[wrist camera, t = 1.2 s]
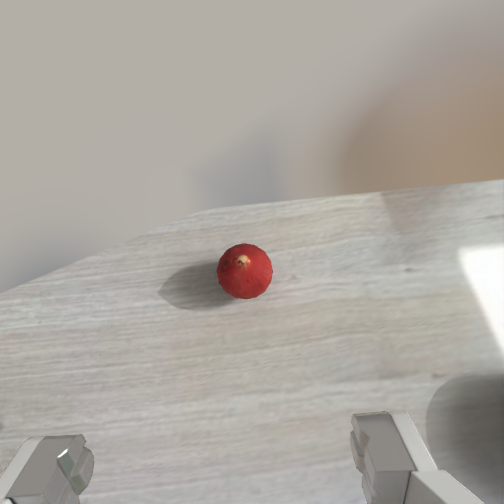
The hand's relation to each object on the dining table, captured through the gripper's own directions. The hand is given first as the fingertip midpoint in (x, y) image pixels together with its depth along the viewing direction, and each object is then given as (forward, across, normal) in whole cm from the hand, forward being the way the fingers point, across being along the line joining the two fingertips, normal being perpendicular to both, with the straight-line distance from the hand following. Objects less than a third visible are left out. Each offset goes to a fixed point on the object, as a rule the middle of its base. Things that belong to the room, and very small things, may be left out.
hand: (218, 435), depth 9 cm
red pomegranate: (+25, 0, +9) cm, 27 cm away
